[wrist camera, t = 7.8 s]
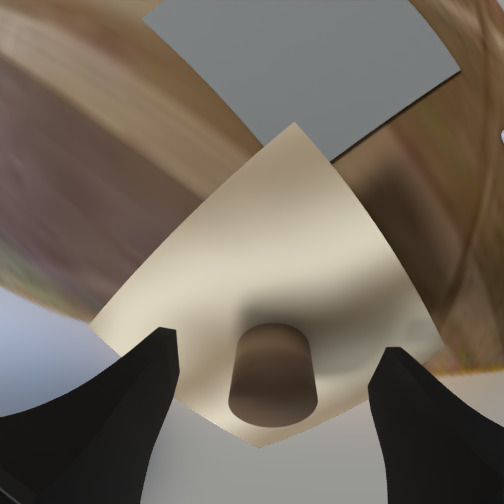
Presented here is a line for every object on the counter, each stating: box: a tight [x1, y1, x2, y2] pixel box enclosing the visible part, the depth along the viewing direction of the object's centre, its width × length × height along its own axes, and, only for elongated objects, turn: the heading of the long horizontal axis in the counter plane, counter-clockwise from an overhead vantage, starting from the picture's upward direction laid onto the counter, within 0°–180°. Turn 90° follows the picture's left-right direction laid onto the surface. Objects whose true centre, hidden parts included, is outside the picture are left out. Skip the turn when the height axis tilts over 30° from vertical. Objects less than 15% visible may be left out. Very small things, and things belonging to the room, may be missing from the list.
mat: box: [141, 0, 460, 162], centre depth 12 cm, size 16×16×1 cm
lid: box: [89, 122, 445, 448], centre depth 11 cm, size 13×13×4 cm
